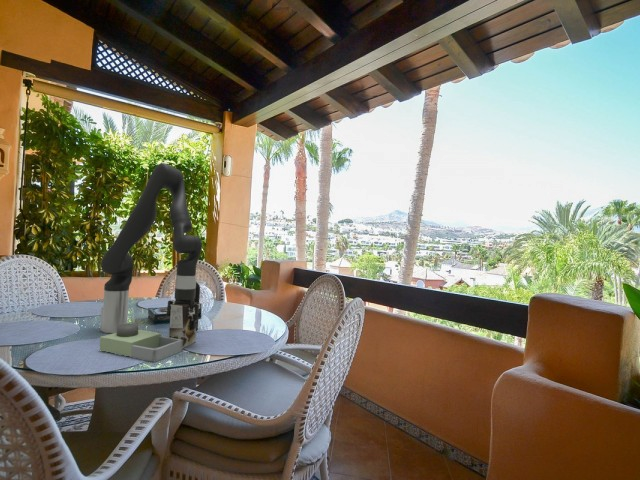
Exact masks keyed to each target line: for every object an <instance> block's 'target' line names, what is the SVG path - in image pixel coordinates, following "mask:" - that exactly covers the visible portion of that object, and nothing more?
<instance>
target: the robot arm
mask: <svg viewBox="0 0 640 480" xmlns="http://www.w3.org/2000/svg"><path fill="white" fill-rule="evenodd" d="M185 186H186V185H185V177H184V175H183V172H182V171H180V169H177V168H176V167H174V166H172V165H169V164H168V163H164V162H161V163H158V164H157V165H156V166H155V167H154V169H153V170H152V172H151V174H150V175H149V178H148V180H147V183H146V185H145V186H144V189H143V191H142V194H141V195H140V197H139V199H138V200H137V203H136V204H135V207H134V208H133V210H132V211H131V213H130V214H129V216H128V218H127V220H126V222H125V223H124V225H123V226H122V227H121V230H120V232H119V233H118V235H117V236H116V239H115V240H114V242H112V244H111V245H110V247H109V248H108V249H107V251H106V252H105V254H104V255H103V257H102V259H101V262H100V266H101V267H100V268H101V270H102V272H103V273H105V274H107V275H111V276H110V277H109V279H108V281H106V282H105V284H104V285H103V287H104V288H103V305H102V306H103V307H101V310H100V326H99V328H100V329H99V330H100V331H101V332H102V333H107V334H113V333H117V326H119V325H122V324H128V315H129V296H130V285H132V280H133V272H134V271H133V270H134V260H133V259H134V258H133V256H132V255H131V254H130V253H129V252H130V251H131V249H132V248H133V247H134V246H135V245H136V244H137V243H138V242H140V241H141V240H142V239H143V238H144V237H145V236H146V235H147V234H148V232H149V231H150V230H151V228H152V227H153V224H154V223H155V220H156V219H157V199H158V196H159V194H160V192H161V190H162V188H164V189H166V190H169V191H170V194H171V196H172V203H171V205H170V209H169V215H170V221H171V225H172V227H173V230H172V233H173V236H172V237H173V238H172V247H173V249H174V251H175V252H176V253H177V254H187V256H186V258H182V259H180V260H178V261H177V262H176V263H177V264H176V276H175V280H174V281H175V282H174V283H175V285H174V299H171V300H168V301H167V308H166V316H167V317H170V314H171V304H175V303H182V304H189V305H190V310H191V309H193V308H194V309H195V311H194V309H193V312H192V313H190V312H189V318H190V320H191V321H190V331H193V330H195V329H196V321H197V320H198V321H199V320H201V319H202V303H200V302H199V304H195V303H194V299H195V292H196V282H197V278H196V277H197V275H196V273H197V265H198V264H197V263H198V261H199V257H200V255H201V252H202V249H203V241H202V239H201V237H200V236H198V235H193V234H192V235H190V234H187V233H189V232H190V231H191V230H193V223H192V220H191V219H192V218H191V216H190V213H189V210H188V204H187V198H186V197H187V196H186V189H185V188H186V187H185ZM185 234H186V235H185Z"/></svg>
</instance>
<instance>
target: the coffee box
mask: <svg viewBox="0 0 640 480" xmlns="http://www.w3.org/2000/svg"><path fill="white" fill-rule="evenodd" d="M194 303H195V304H197V303H198V302H194ZM193 309H194V308H193ZM193 309H191V310H190V305H189V304H182V303H175V304H171V310H170V311H171V314H170V316H169V333H168V337H170V338H175V339H181V340H183V349H185V348H186V347H189V346H191V345H193V344H195V343H196V332H197V331H196V329H195V330H193V331H190V321H191V320H190V318H189V312H190V313H192V312H193ZM194 311H195V309H194ZM194 342H195V343H194Z"/></svg>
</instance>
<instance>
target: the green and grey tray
mask: <svg viewBox="0 0 640 480" xmlns="http://www.w3.org/2000/svg"><path fill="white" fill-rule="evenodd" d="M139 326H140V325H139V324H135V323H127V324H122V325H119V326H117V333H108V334H106V335H102V336H100V337H99V351H100V350H101V351H100V352H102V351H106V352H105V353H107V352H111V353H116V354H120V355H119V356H121V355H124V356H123V357H126V356H130V357H129V358H131V357H133V358H132V359H136V358H138V359H137V360H143V361H146V362H151V363H156V362H159V361H161V360H164V359H166V358H168V357H169V358H170V357H171V356H174V355H175V354H176V355H177V354H178V353H180V352H184V348H183V340H181V339H175V338H170V337H169V336H163V335H162V333H161V332H156V331H149V330H144V329H139ZM111 353H110V354H111ZM116 354H115V355H116Z"/></svg>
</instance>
